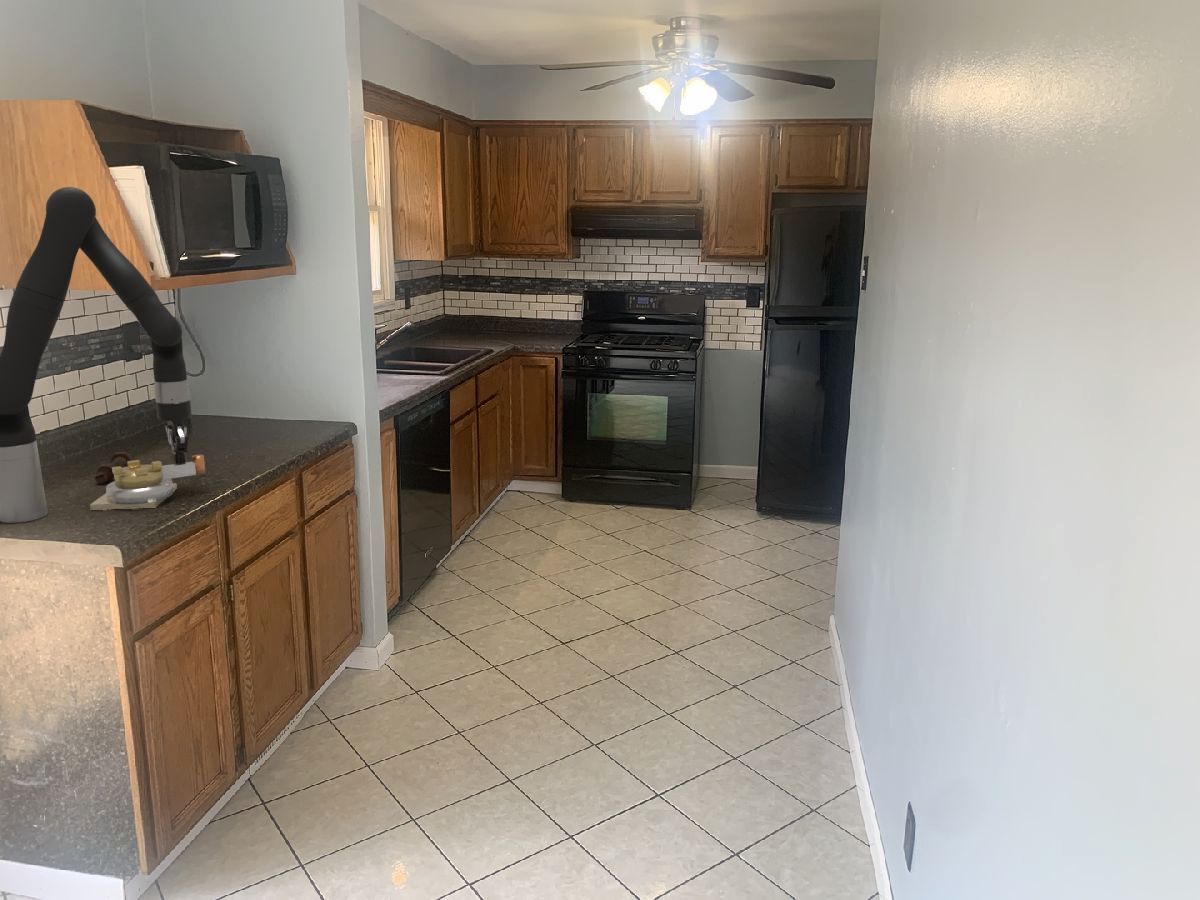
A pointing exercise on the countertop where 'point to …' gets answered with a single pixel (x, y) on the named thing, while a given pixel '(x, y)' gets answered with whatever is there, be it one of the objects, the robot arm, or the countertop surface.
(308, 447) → the countertop surface
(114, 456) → the bolt
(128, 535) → the countertop surface
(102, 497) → the cap housing
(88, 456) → the countertop surface
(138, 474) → the yellow disc with lever
